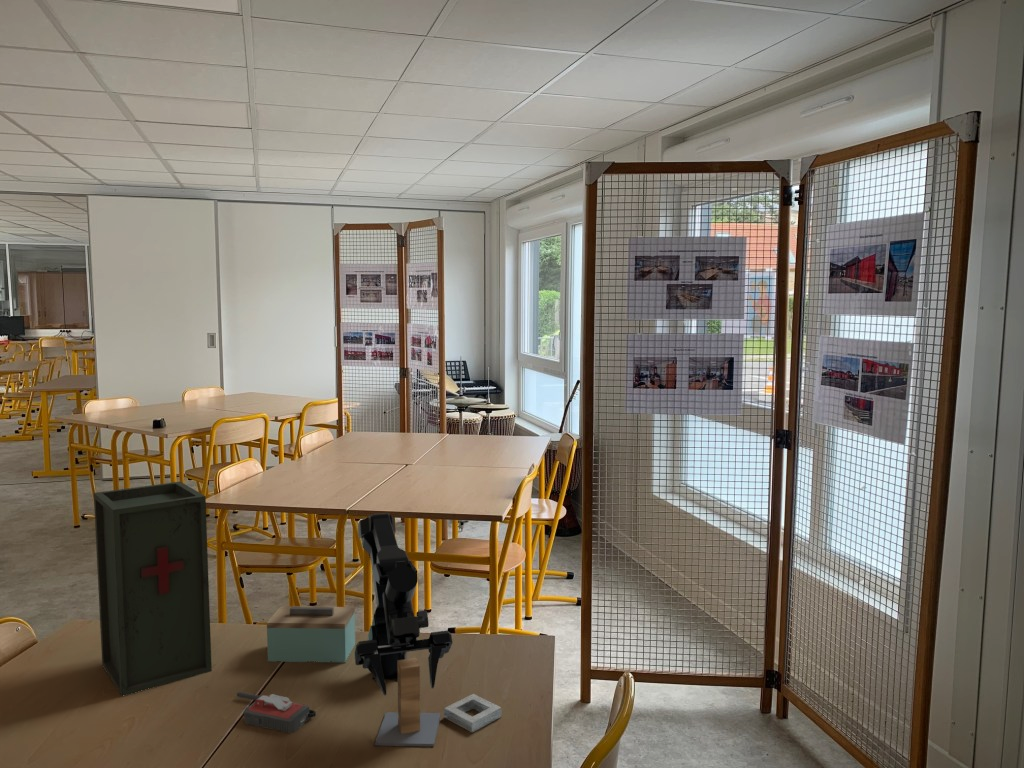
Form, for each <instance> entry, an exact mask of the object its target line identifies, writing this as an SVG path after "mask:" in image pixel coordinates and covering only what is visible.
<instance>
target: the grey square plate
mask: <svg viewBox="0 0 1024 768" xmlns="http://www.w3.org/2000/svg"><path fill="white" fill-rule="evenodd" d="M440 720H441V712H420V731H416V732H410V733H405V734H401V731H400V728H399V725H398V711H397V712H396V711H395V712H393V711H389V712H387V711H386V712H385V714H384V716H383V719H382V723H381V725H380V728H379V731H378V733H377V736H376V739H375V743H374V745H375V746H379V747H380V746H386V747H389V746H390V747H435V742H436V739H437V734H438V729H439V725H440Z"/></svg>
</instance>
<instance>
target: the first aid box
mask: <svg viewBox="0 0 1024 768" xmlns="http://www.w3.org/2000/svg"><path fill="white" fill-rule="evenodd" d="M93 504H94V505H93V507H94V527H95V528H94V529H95V544H96V546H95V547H96V567H97V568H96V569H97V585H98V586H97V589H98V607H99V626H100V627H99V628H100V648H101V664H102V665H101V666H102V667H103V666H104V667H103V669H104V668H105V669H104V671H105V672H106V671H107V672H106V674H107V675H108V677H109V676H110V677H111V678H110V677H109V678H110V680H111V679H112V680H111V682H112V683H113V682H114V683H113V685H114V684H115V685H116V686H115V685H114V686H115V688H116V687H117V688H118V689H117V688H116V689H117V691H118V690H119V691H118V693H119V692H120V693H121V694H120V693H119V694H120V695H122V696H123V695H126V694H130V695H132V694H131V693H133V694H136V693H135V692H137V693H139V692H138V691H140V692H142V691H141V690H144V691H146V690H145V689H147V690H150V688H151V689H153V687H154V688H157V686H158V687H161V686H164V685H168V684H171V683H174V682H179V681H181V680H185V679H189V678H192V677H196V676H199V675H203V674H206V673H210V672H212V671H213V670H212V668H213V667H212V664H213V663H212V641H211V617H210V616H211V613H210V612H211V611H210V590H209V587H210V586H209V582H210V581H209V559H208V558H209V557H208V555H209V554H208V529H207V528H208V527H207V501H206V495H204V494H202V493H200V492H199V491H197V490H195V489H194V488H192V487H191V486H189V485H187V484H185V483H183V482H182V481H173V482H167V483H166V482H165V483H158V484H151V485H143V486H137V487H130V488H129V487H128V488H121V489H113V490H105V491H97V492H93ZM148 688H149V689H148ZM122 696H121V697H122ZM126 696H127V695H126ZM123 697H124V696H123Z"/></svg>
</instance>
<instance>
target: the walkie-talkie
mask: <svg viewBox="0 0 1024 768" xmlns="http://www.w3.org/2000/svg"><path fill="white" fill-rule="evenodd" d="M236 696H237V697H238V698H243V699H247V700H252V701H254V702H252V703H251V704H250V705H248V706H246V707H245V709H244V710H243V717H244V724H247V725H252V726H255V727H260V728H265V729H270V730H274V731H279V732H283V733H288V734H291V733H294V732H296V731H297V730H298V729H300V728H301V727H302V726H303V725H304V724H306V723H307V722H308V721H309V720H310V719H311V718H315V717H316V715H317V712H316V711H315V710H313V709H310V705H305V704H301V703H296V702H292V701H291V700H290V699H289V697H287V696H282V695H277V694H275V693H271V694H270V695H267V694H263V695H259V694H254V693H253V694H252V693H249V692H245V691H244V692H243V691H241V690H240V691H238V692H236Z"/></svg>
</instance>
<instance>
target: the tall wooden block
mask: <svg viewBox="0 0 1024 768" xmlns="http://www.w3.org/2000/svg"><path fill="white" fill-rule="evenodd" d="M397 667H398V680H397V712H398V725H399V728H400V731H401V734H405V733H410V732H416V731H420V713H421V687H420V686H421V683H420V682H421V677H420V676H421V673H420V672H421V669H420V668H421V666H420V664H419V661H418V659H417V658H416V657H412V658H407V659H404V660H397Z"/></svg>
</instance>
